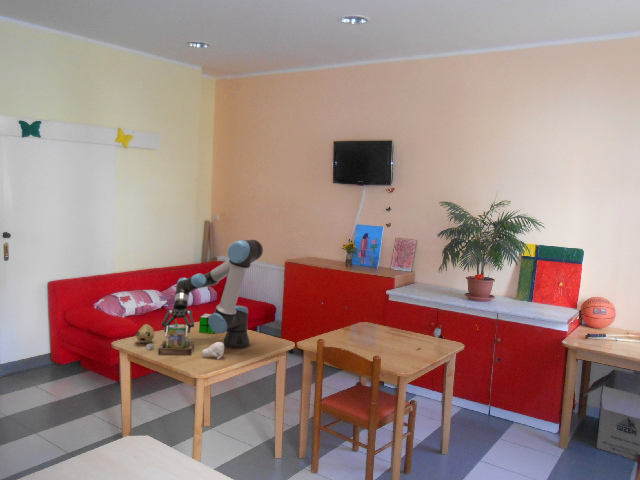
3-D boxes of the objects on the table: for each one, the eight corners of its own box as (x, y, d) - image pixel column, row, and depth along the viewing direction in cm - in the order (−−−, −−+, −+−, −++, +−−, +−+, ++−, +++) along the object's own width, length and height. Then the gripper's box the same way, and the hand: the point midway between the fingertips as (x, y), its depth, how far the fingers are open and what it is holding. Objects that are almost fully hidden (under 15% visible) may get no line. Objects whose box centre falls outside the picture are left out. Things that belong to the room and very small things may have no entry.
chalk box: (185, 348, 288) (186, 322, 287) (167, 349, 286) (168, 322, 285) (185, 343, 297) (186, 318, 296) (168, 344, 295) (169, 318, 294)
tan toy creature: (133, 346, 296) (133, 327, 295) (138, 340, 308) (138, 322, 307) (151, 346, 297) (151, 328, 296) (155, 340, 309) (156, 322, 308)
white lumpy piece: (222, 343, 280) (200, 344, 280) (223, 359, 281) (201, 360, 281) (224, 340, 286) (202, 341, 286) (225, 355, 287) (203, 356, 287)
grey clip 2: (190, 343, 307) (190, 339, 307) (190, 344, 304) (190, 340, 304) (185, 343, 307) (185, 339, 307) (184, 344, 304) (185, 340, 304)
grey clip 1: (150, 348, 295) (151, 343, 294) (154, 349, 293) (154, 344, 293) (146, 349, 292) (146, 344, 292) (149, 350, 290) (149, 345, 290)
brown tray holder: (163, 346, 298) (163, 341, 298) (193, 347, 300) (194, 341, 300) (158, 354, 283) (158, 348, 283) (190, 355, 285) (190, 349, 285)
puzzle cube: (219, 330, 340) (219, 314, 339) (214, 334, 330) (215, 318, 329) (204, 328, 341) (204, 313, 340) (199, 332, 331) (199, 317, 330)
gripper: (201, 306, 306) (197, 341, 292) (161, 305, 304) (155, 340, 289) (200, 299, 301) (197, 334, 287) (160, 298, 298) (154, 333, 284)
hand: (176, 337), depth 288 cm, fingers closed on chalk box, 10 cm apart
